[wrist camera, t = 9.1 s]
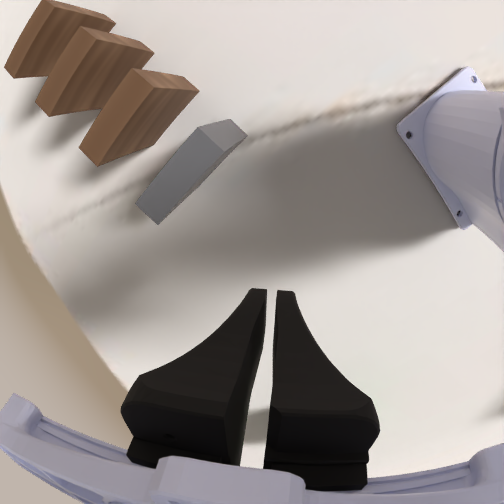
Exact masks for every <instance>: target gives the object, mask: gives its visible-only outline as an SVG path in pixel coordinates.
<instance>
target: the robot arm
mask: <svg viewBox="0 0 504 504" xmlns="http://www.w3.org/2000/svg"><path fill="white" fill-rule="evenodd" d="M471 77H473V78H474V83H473V82H472V80H471ZM396 129H397V132H398V134H399V135H400V136H401V138H402V139H403V140H404V142H405V143H406V145H407V146H408V147H409V149H410V150H411V151H412V153H413V154H414V156H415V157H416V158H417V160H418V161H419V163H420V164H421V166H422V167H423V169H424V170H425V172H426V173H427V175H428V176H429V178H430V179H431V181H432V182H433V184H434V185H435V187H436V189H437V190H438V192H439V193H440V195H441V197H442V198H443V200H444V202H445V203H446V205H447V207H448V208H449V210H450V212H451V214H452V215H453V217H454V219H455V221H456V223H457V224H458V226H459V227H460V228H461V229H463V230H465V229H467V228H468V227H469V226H470V225H472V224H474V225H475V226H476V227H477V228H478V229H479V230H481V231H482V232H483V233H484V234H485V235H486V236H487V237H488V238H490V239H491V240H492V241H493V242H494V243H495V244H496V245H497V246H498V247H499V248H500V249H501V250H502V251H504V92H501V91H487V90H486V89H485V87H484V85H483V84H482V82H481V81H480V79H479V77H478V76H477V74H476V73H475V71H474V70H473V69H472V68H471V67H464V68H463V69H462V70H460V71H459V72H458V73H457V74H456V75H454V76H453V77H452V78H451V79H450V80H449V81H447V82H446V83H445V84H444V85H443V86H441V87H440V88H439V89H438V90H437V91H436V92H434V93H433V94H432V95H431V96H430V97H429V98H427V99H426V100H425V101H424V102H423V103H421V104H420V105H419V106H418V107H417V108H416V109H414V110H413V111H412V112H411V113H410V114H409V115H407V116H406V117H405V118H404V119H403V120H401V121H400V122H399V123H398V124H397V127H396ZM407 132H410V133H411V137H410V138H409V139H408V138H407V137H406V133H407ZM458 211H460V214H459V215H457V212H458ZM266 304H267V289H256V288H252V289H250V290H249V292H248V293H247V295H246V296H245V298H244V299H243V301H242V302H241V303H240V305H239V306H238V307H237V308H236V309H235V311H234V312H233V313H232V314H231V315H230V317H229V318H228V319H227V320H226V321H225V322H224V323H223V324H222V325H221V326H220V327H219V328H218V329H217V330H216V331H215V332H214V333H212V334H211V335H210V336H209V337H208V338H207V339H205V340H204V341H203V342H202V343H200V344H199V345H197V346H196V347H195V348H193V349H192V350H190V351H189V352H187V353H186V354H184V355H183V356H181V357H179V358H177V359H175V360H174V361H172V362H170V363H168V364H166V365H164V366H161V367H159V368H157V369H154V370H152V371H149V372H147V373H144V374H141V375H139V377H138V378H137V380H136V381H135V382H134V384H133V385H132V387H131V388H130V390H129V392H128V394H127V396H126V398H125V400H124V402H123V404H122V406H121V414H122V417H123V419H124V421H125V423H126V424H127V426H128V428H129V429H130V431H131V433H132V435H133V436H134V437H133V439H132V441H131V444H130V446H129V449H128V450H126V449H123V448H120V447H117V446H114V445H112V444H109V443H105V442H103V441H100V440H98V439H95V438H92V437H90V436H88V435H85V434H83V433H80V432H78V431H75V430H73V429H71V428H68V427H66V426H64V425H62V424H59V423H57V422H55V421H53V420H51V419H49V418H47V417H45V416H43V415H42V413H41V411H40V410H39V409H38V407H37V406H36V405H34V404H33V403H32V402H31V401H29V400H27V399H25V398H23V397H21V396H19V395H18V394H16V393H13V394H12V396H11V397H10V399H9V400H8V402H7V403H6V404H5V406H4V407H3V409H2V410H1V412H0V449H2V450H3V451H4V452H5V453H6V454H7V455H8V456H9V457H10V458H11V459H12V460H14V461H15V462H16V463H17V464H18V465H20V466H21V467H23V468H24V469H26V470H27V471H29V472H30V473H32V474H33V475H35V476H37V477H38V478H40V479H41V480H43V481H45V482H46V483H48V484H50V485H51V486H53V487H55V488H56V489H58V490H60V491H62V492H63V493H65V494H67V495H69V496H71V497H72V498H74V499H76V500H78V501H80V502H82V503H84V504H504V443H502V444H499V445H495V446H492V447H489V448H486V449H483V450H481V451H479V452H477V453H476V454H475V455H474V456H473V457H472V458H471V459H470V460H469V461H467V462H463V463H459V464H455V465H451V466H447V467H442V468H437V469H432V470H427V471H421V472H415V473H409V474H402V475H395V476H386V477H376V478H367V466H366V464H367V463H368V462H369V454H368V450H369V449H370V448H371V446H372V445H373V443H374V442H375V440H376V439H377V437H378V435H379V433H380V425H379V420H378V416H377V413H376V409H375V407H374V404H373V401H372V399H371V398H370V397H368V396H367V395H366V394H364V393H363V392H362V391H360V390H359V389H358V388H357V387H355V386H354V385H353V384H352V383H351V382H349V381H348V380H347V379H346V378H345V377H344V376H343V375H342V374H341V373H340V371H339V370H338V369H337V368H336V367H335V366H334V365H333V364H332V363H331V362H330V360H329V359H328V358H327V357H326V355H325V354H324V353H323V351H322V350H321V348H320V347H319V345H318V344H317V342H316V341H315V339H314V338H313V336H312V334H311V332H310V331H309V329H308V327H307V325H306V323H305V321H304V319H303V316H302V314H301V312H300V309H299V307H298V304H297V300H296V297H295V293H294V292H293V291H283V290H277V297H276V310H275V325H274V339H273V387H272V395H271V402H270V412H269V422H268V432H267V441H266V449H265V457H264V466H263V469H258V468H249V467H241V466H240V461H241V454H242V448H243V441H244V434H245V428H246V421H247V415H248V409H249V402H250V397H251V392H252V388H253V384H254V381H255V377H256V373H257V369H258V365H259V361H260V357H261V354H262V349H263V343H264V335H265V326H266Z"/></svg>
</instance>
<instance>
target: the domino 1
mask: <svg viewBox="0 0 504 504" xmlns="http://www.w3.org/2000/svg"><path fill="white" fill-rule="evenodd" d="M115 24H116V23H115V22H114V21H112V20H111V19H110V18H108V17H107V16H106V15H104V14H101V13H98V12H94V11H91V10H88V9H84V8H81V7H77V6H74V5H70V4H66V3H62V2H58V1H54V0H42V1H41V2H40V4H39V5H38V7H37V8H36V10H35V11H34V13H33V15H32V16H31V18H30V19H29V21H28V23H27V24H26V26H25V28H24V30H23V31H22V33H21V35H20V37H19V39H18V40H17V42H16V44H15V46H14V48H13V50H12V52H11V54H10V56H9V58H8V60H7V62H6V64H5V66H4V68H5V69H6V70H7V71H8V73H9V74H10V75H11V76H12V77H13V78H26V77H42V76H49V74H50V73H51V71H52V69H53V68H54V66H55V64H56V62H57V61H58V59H59V57H60V56H61V54H62V53H63V51H64V49H65V48H66V46H67V45H68V43H69V42H70V40H71V39H72V37H73V36H74V34H75V33H76V31H77V30H78V28H79V27H80V26H82V27H87V28H91V29H96V30H100V31H104V32H108V33H109V32H110V31H111V29H112V28H113V27H114V26H115Z"/></svg>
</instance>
